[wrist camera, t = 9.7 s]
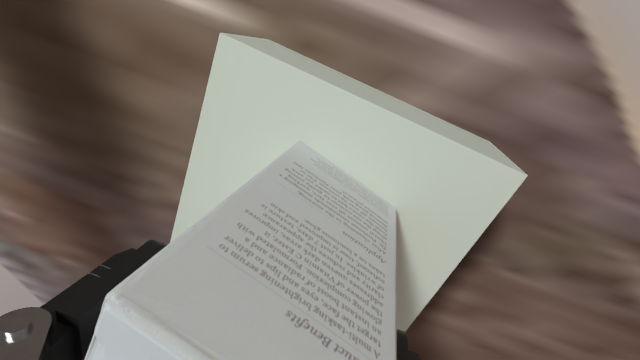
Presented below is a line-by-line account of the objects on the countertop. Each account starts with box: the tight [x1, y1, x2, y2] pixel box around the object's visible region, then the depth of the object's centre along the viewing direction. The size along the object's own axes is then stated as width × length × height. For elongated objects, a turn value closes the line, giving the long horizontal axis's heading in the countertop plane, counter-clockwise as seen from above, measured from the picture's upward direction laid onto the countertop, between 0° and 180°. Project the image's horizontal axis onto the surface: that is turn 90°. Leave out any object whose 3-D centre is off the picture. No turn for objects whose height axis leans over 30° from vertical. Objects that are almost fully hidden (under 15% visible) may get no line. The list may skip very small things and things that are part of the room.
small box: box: [84, 141, 397, 360], centre depth 11 cm, size 8×6×10 cm
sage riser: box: [170, 33, 528, 332], centre depth 19 cm, size 14×14×6 cm
